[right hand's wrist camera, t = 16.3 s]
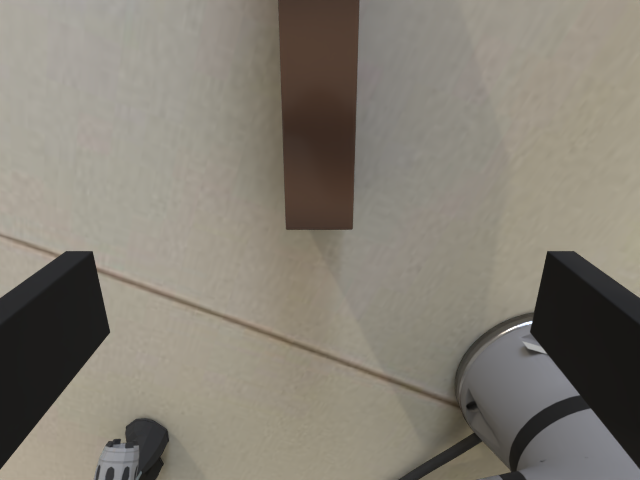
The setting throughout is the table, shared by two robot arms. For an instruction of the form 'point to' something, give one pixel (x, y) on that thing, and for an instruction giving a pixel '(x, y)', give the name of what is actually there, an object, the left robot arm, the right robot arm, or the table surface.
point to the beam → (319, 111)
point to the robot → (134, 453)
